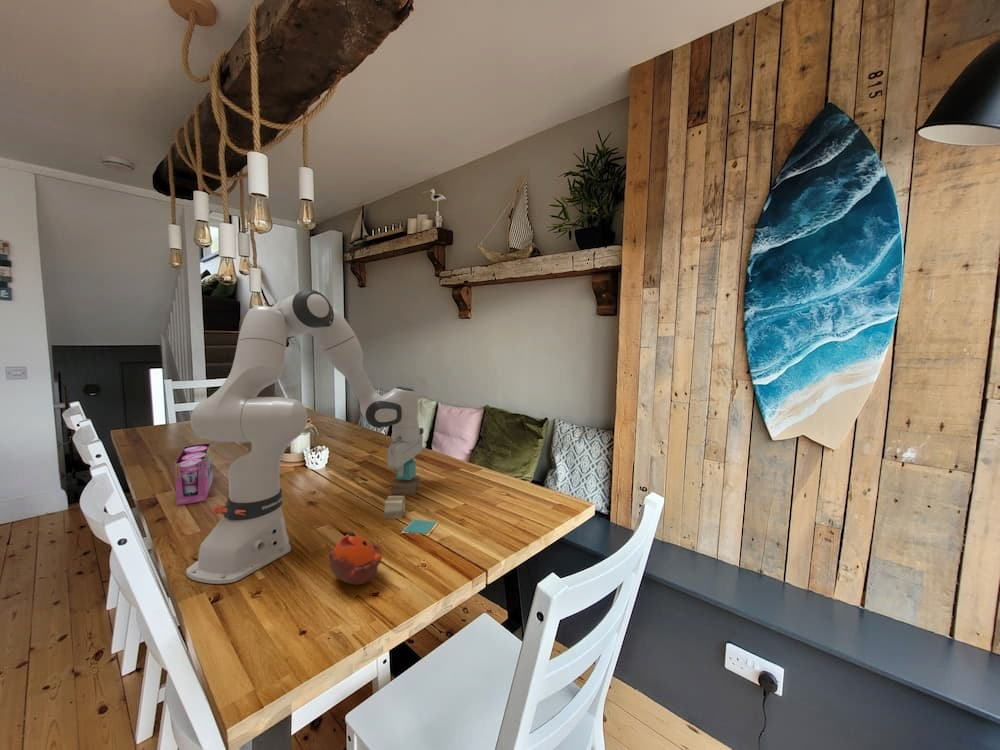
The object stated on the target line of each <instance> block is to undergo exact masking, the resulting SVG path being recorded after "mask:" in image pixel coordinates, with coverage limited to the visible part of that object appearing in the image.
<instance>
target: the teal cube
mask: <svg viewBox="0 0 1000 750" xmlns="http://www.w3.org/2000/svg"><path fill="white" fill-rule="evenodd" d="M416 463H417V462H416V460H414V461H407V462H406V463H404V466H403V469H404V470H405V475H403V476H398V470H397V468H395V479H404V480H410V479H411V478H413V477H414V476H417V472H416V471H417V469H416V466H417V465H416Z"/></svg>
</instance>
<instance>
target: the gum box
mask: <svg viewBox="0 0 1000 750" xmlns="http://www.w3.org/2000/svg"><path fill="white" fill-rule="evenodd" d="M212 457H213V456H212V443H211V442H210V443H202V444H201V443H200V444H192V445H190V444H189V445H185V446H184V447H183V449H182V451H181V453H180V454H179V456H178V457H177V459H176V460H175V462H174V474H175V475H174V477H175V478H174V479H175V504H176V506H179V505H180V506H181V505H186V504H194V503H200V502H201V503H202V502H206V501H207V497H209V492H210V490H211V486H212V483H213V481H214V474H213V472H214V471H213V459H212Z"/></svg>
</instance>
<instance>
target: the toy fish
mask: <svg viewBox="0 0 1000 750" xmlns="http://www.w3.org/2000/svg"><path fill="white" fill-rule="evenodd" d="M328 558H329V560H328V561H329V566H330V569H331V570H330V571H332V573H333V574H334V575H335V577H337V579H339V580H340V581H342V582H344V583H346V584H351V585H355V586H356V585H357V586H361V585H365V584H366V583H369V582H371V581H372V580H374V579H375V577H376V576H377V573H378V566H379V565H380V564H381V560H382V559H383V555H382V553H381V550H380V548H379V546H378V545H377V544H374V543H372V542H370V541H369V540H368V539H367V538H365V537H363V536H361V535H359V534H355V533H354V532H349V533H347V534H346V535H344V536H343V537H342V538H341V539H340V540H338V542H337V543H336V545H335V547H334V549H331V550H330V552H329V556H328Z"/></svg>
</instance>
